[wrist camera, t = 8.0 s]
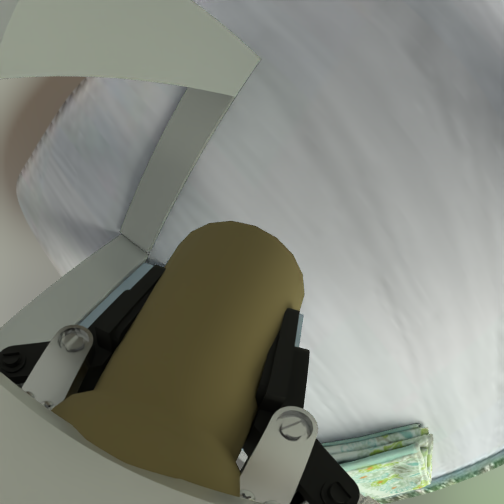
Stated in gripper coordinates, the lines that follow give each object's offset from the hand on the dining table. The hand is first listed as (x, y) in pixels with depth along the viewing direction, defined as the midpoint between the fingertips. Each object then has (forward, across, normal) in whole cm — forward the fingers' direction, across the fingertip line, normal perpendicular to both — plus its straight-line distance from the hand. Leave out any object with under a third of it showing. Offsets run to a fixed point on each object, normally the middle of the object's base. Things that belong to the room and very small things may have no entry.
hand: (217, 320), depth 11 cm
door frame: (+10, +8, -2) cm, 13 cm away
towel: (+11, -22, +30) cm, 38 cm away
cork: (+2, 0, 0) cm, 3 cm away
